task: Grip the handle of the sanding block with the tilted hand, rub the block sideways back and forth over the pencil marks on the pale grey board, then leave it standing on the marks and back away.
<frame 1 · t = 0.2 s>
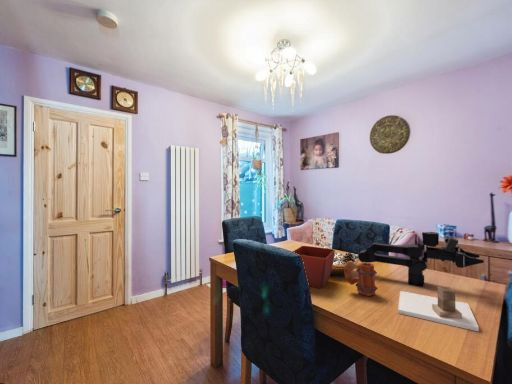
hand: (481, 258, 110), 17 cm above the table, tool horizontal, fingers open, 9 cm apart
mug: (360, 293, 115), on the table
plant pot: (313, 282, 129), on the table
board: (433, 310, 98), on the table
sanding block: (446, 313, 92), point 2 cm above the table, touching board
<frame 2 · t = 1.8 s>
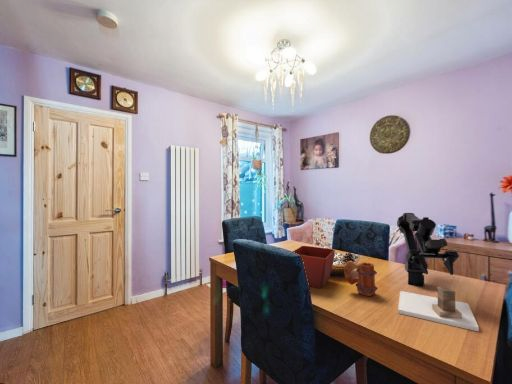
hand: (439, 274, 99), 14 cm above the table, tool tilted 45°, fingers open, 9 cm apart
nothing on the table moved.
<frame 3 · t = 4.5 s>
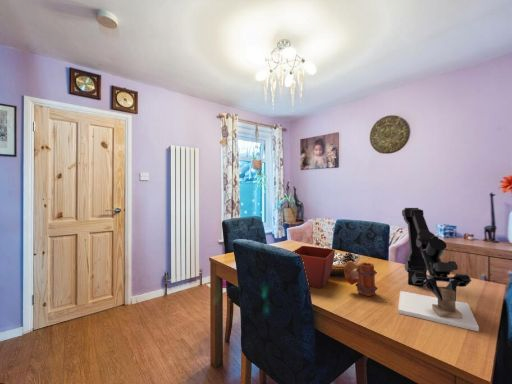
hand: (448, 301, 91), 7 cm above the table, tool tilted 45°, fingers closed on sanding block, 4 cm apart
sanding block: (446, 313, 92), point 2 cm above the table, touching board, gripper
everything else where it was.
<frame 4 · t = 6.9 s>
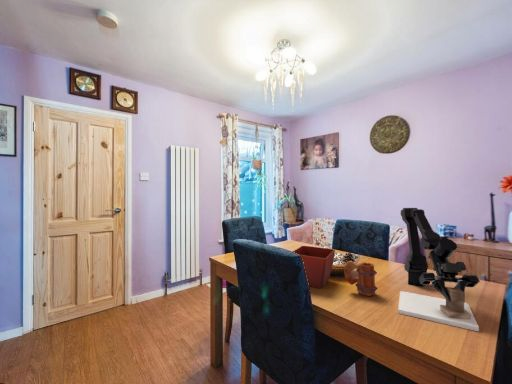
hand: (456, 301, 90), 7 cm above the table, tool tilted 45°, fingers closed on sanding block, 4 cm apart
sanding block: (454, 314, 92), point 2 cm above the table, touching gripper
everything else where it was.
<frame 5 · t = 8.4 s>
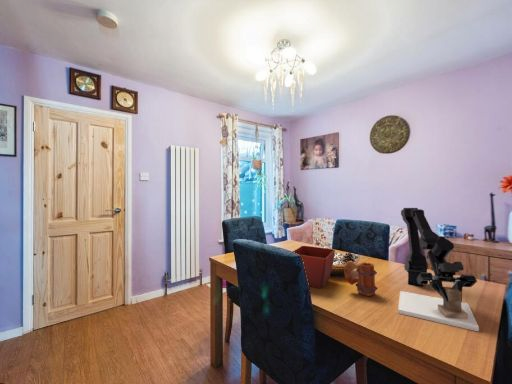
hand: (454, 301, 90), 7 cm above the table, tool tilted 45°, fingers closed on sanding block, 4 cm apart
sanding block: (452, 314, 92), point 2 cm above the table, touching gripper
everything else where it was.
when the fingers open (7 cm above the table, at t = 9.3 s): sanding block stays where it is, resting on board.
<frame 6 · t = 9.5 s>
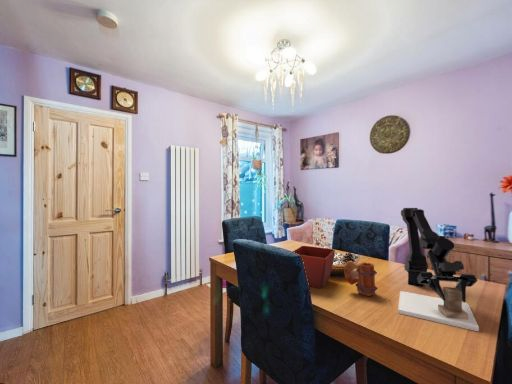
hand: (454, 301, 90), 7 cm above the table, tool tilted 45°, fingers open, 6 cm apart
sanding block: (452, 314, 92), point 2 cm above the table, touching board
everything else where it was.
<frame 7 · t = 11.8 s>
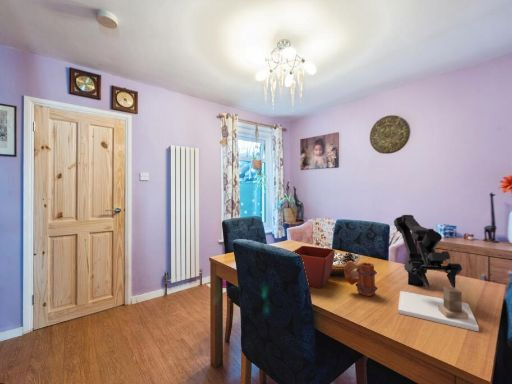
hand: (441, 287, 99), 9 cm above the table, tool tilted 45°, fingers open, 9 cm apart
nothing on the table moved.
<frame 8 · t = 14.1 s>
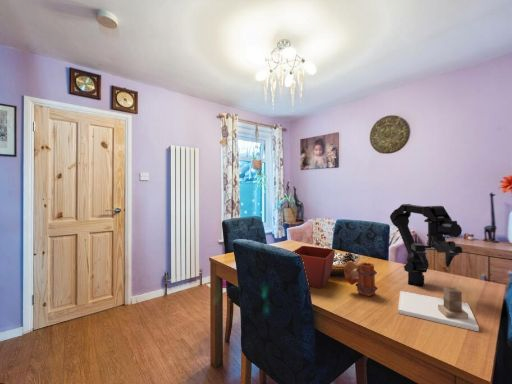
hand: (436, 266, 112), 13 cm above the table, tool pointing down, fingers open, 9 cm apart
nothing on the table moved.
at the end: sanding block 1.2 cm from the target spot on the board, point 1.5 cm above the board's base; sanding block tilted 0°; the gripper is holding nothing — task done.
